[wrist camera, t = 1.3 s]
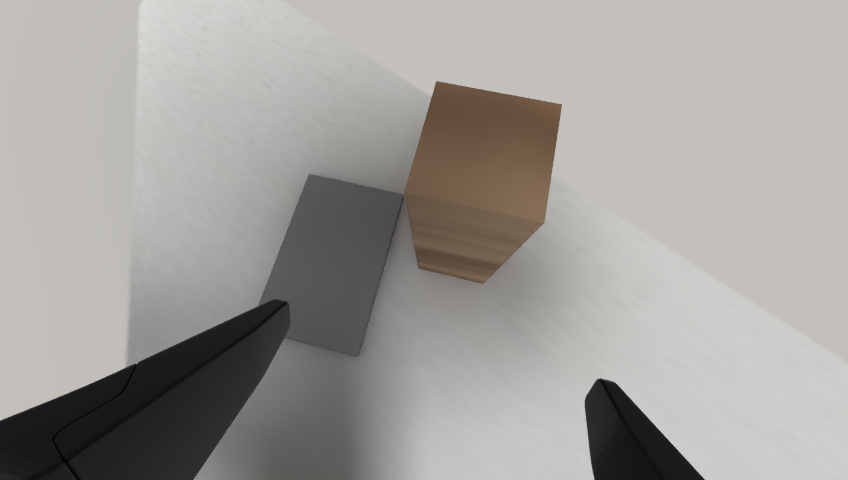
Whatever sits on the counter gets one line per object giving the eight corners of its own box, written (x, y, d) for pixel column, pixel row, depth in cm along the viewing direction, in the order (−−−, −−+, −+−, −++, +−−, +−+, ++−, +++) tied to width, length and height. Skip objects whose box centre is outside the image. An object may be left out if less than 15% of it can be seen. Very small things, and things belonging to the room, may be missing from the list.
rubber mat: (358, 356, 20) (356, 356, 20) (254, 328, 21) (249, 328, 20) (403, 198, 23) (402, 194, 23) (311, 177, 24) (309, 174, 23)
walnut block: (483, 283, 21) (544, 222, 10) (418, 268, 22) (404, 192, 10) (495, 222, 23) (562, 104, 11) (433, 209, 23) (436, 81, 11)
